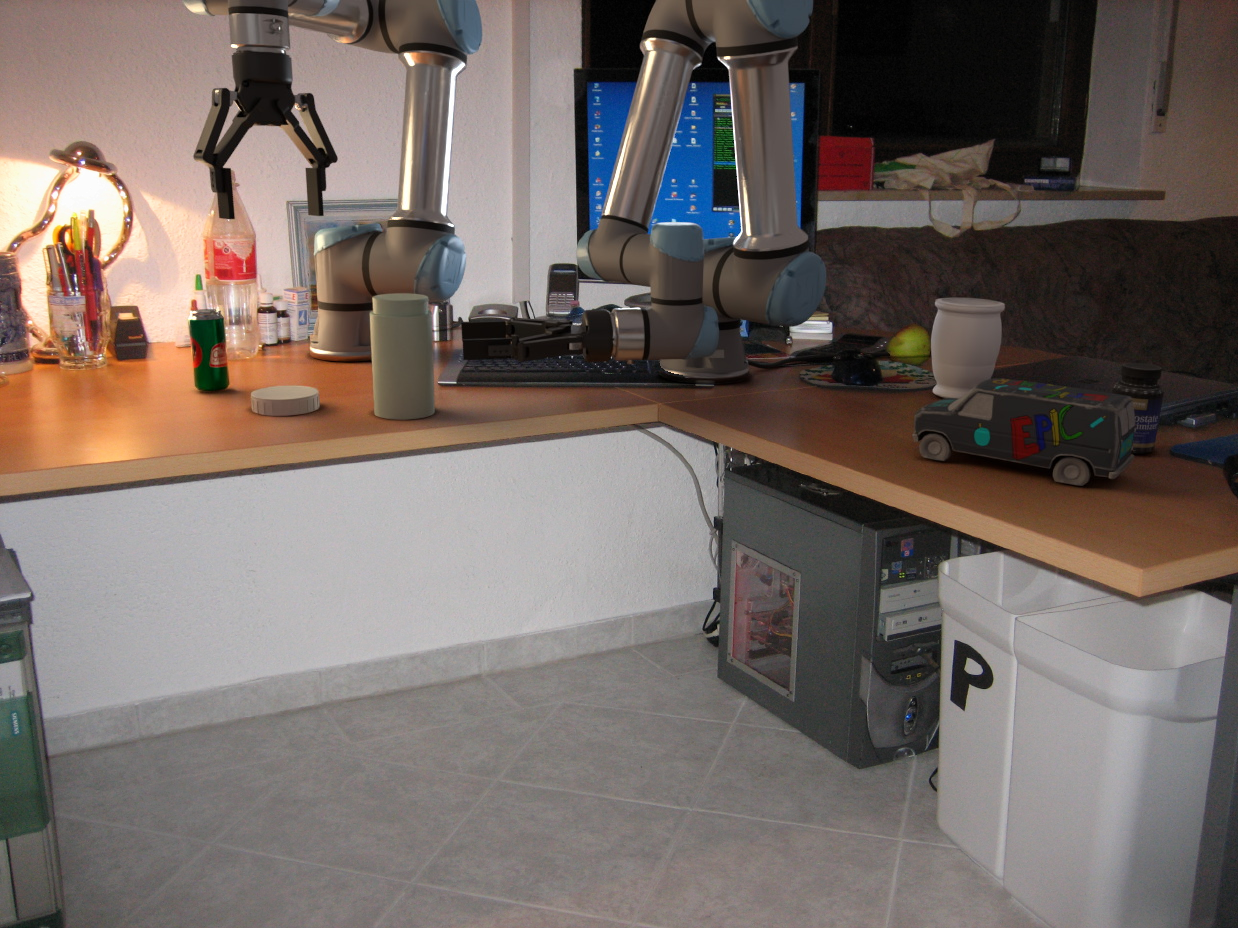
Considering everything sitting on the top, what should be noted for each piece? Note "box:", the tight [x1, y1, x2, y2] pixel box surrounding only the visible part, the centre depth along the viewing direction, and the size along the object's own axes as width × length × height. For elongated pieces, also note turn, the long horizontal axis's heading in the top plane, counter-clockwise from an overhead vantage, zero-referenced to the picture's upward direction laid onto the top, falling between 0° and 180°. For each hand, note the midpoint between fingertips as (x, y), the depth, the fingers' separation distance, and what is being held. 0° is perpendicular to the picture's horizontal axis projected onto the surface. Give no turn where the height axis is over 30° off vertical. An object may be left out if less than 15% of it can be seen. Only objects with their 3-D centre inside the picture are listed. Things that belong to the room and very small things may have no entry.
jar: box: [930, 297, 1006, 399], centre depth 168 cm, size 11×10×15 cm
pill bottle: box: [1111, 362, 1165, 455], centre depth 139 cm, size 6×6×11 cm
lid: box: [250, 384, 321, 417], centre depth 154 cm, size 9×10×2 cm
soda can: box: [187, 308, 231, 393], centre depth 163 cm, size 5×5×12 cm
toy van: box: [911, 377, 1136, 487], centre depth 131 cm, size 11×25×10 cm, turn 54°
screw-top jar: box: [370, 293, 436, 421], centre depth 151 cm, size 8×8×16 cm
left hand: (273, 217), depth 147 cm, fingers open, 13 cm apart
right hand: (461, 340), depth 151 cm, fingers open, 13 cm apart
